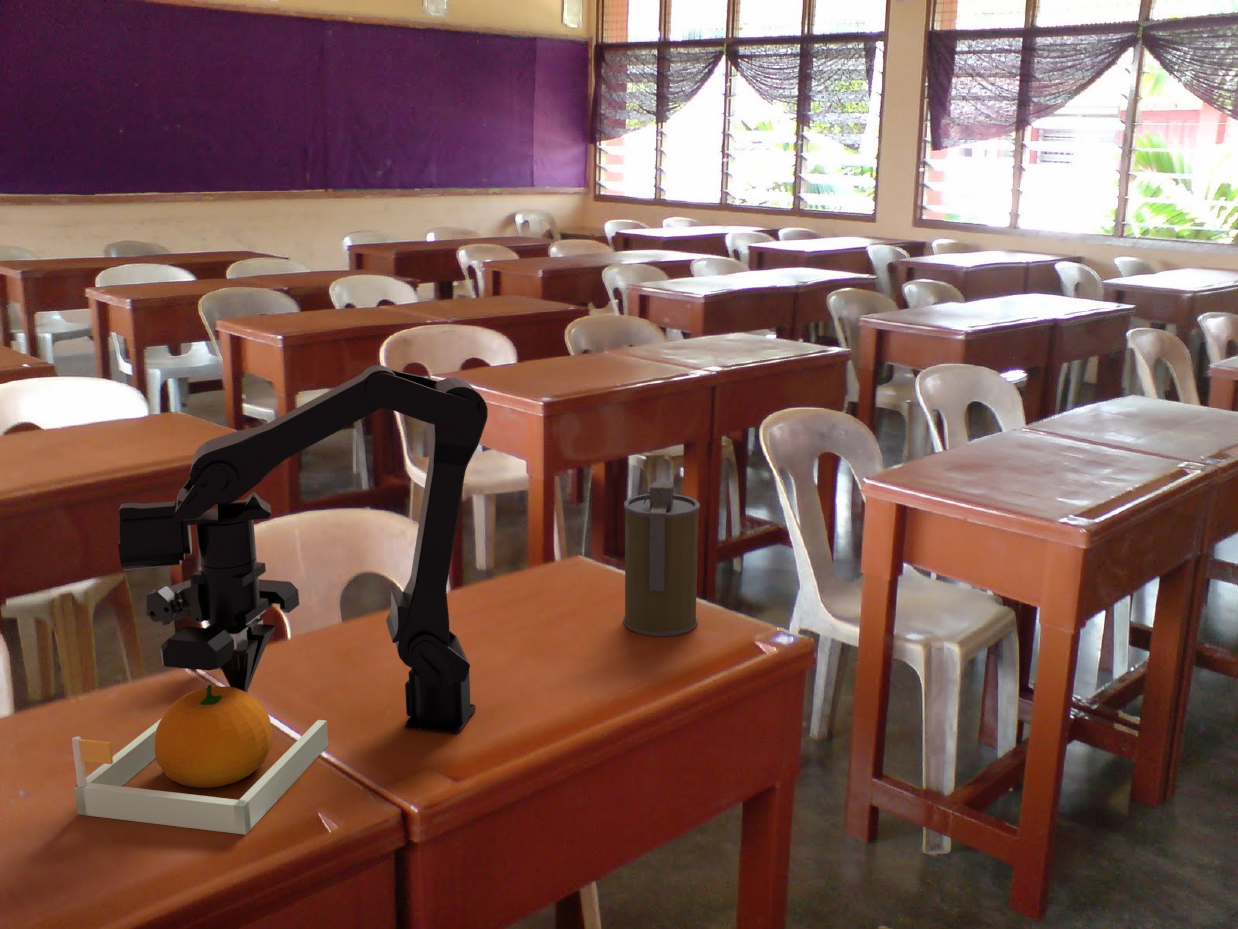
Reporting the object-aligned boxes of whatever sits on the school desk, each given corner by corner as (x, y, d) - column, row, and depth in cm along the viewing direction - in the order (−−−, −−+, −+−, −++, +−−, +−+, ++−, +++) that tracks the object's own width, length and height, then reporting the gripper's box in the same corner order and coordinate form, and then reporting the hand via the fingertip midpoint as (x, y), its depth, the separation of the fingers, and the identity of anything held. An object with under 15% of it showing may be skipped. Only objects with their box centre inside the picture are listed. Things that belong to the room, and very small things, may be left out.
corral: (328, 745, 128) (323, 678, 126) (245, 834, 111) (239, 758, 109) (180, 730, 131) (173, 664, 129) (77, 814, 114) (68, 740, 112)
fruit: (296, 770, 122) (290, 683, 120) (192, 814, 114) (182, 721, 112) (239, 734, 130) (232, 651, 128) (137, 773, 122) (127, 685, 119)
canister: (628, 607, 168) (629, 473, 163) (700, 610, 167) (702, 476, 162) (618, 635, 158) (618, 494, 153) (694, 640, 156) (697, 497, 151)
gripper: (206, 528, 133) (218, 654, 137) (105, 584, 115) (122, 728, 119) (296, 534, 130) (305, 662, 134) (207, 593, 113) (221, 738, 117)
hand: (240, 695), depth 126 cm, fingers closed
